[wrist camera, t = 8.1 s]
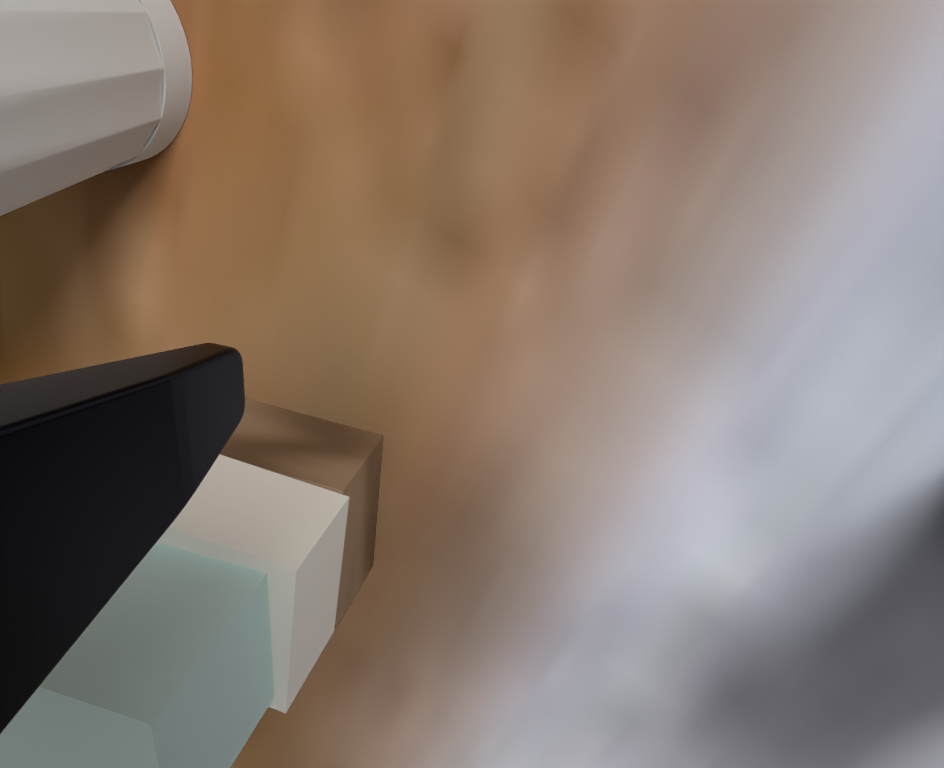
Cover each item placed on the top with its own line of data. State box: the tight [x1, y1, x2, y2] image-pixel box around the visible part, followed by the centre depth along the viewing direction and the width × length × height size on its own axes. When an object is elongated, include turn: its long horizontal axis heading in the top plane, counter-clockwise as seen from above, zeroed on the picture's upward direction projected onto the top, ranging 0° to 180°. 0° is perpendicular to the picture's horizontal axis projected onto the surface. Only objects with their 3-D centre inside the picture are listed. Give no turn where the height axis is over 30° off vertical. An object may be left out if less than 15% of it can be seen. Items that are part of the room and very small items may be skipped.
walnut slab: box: [220, 399, 383, 628], centre depth 27 cm, size 6×6×4 cm
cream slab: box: [157, 454, 349, 713], centre depth 24 cm, size 6×6×4 cm
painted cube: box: [0, 542, 274, 768], centre depth 20 cm, size 5×5×5 cm
